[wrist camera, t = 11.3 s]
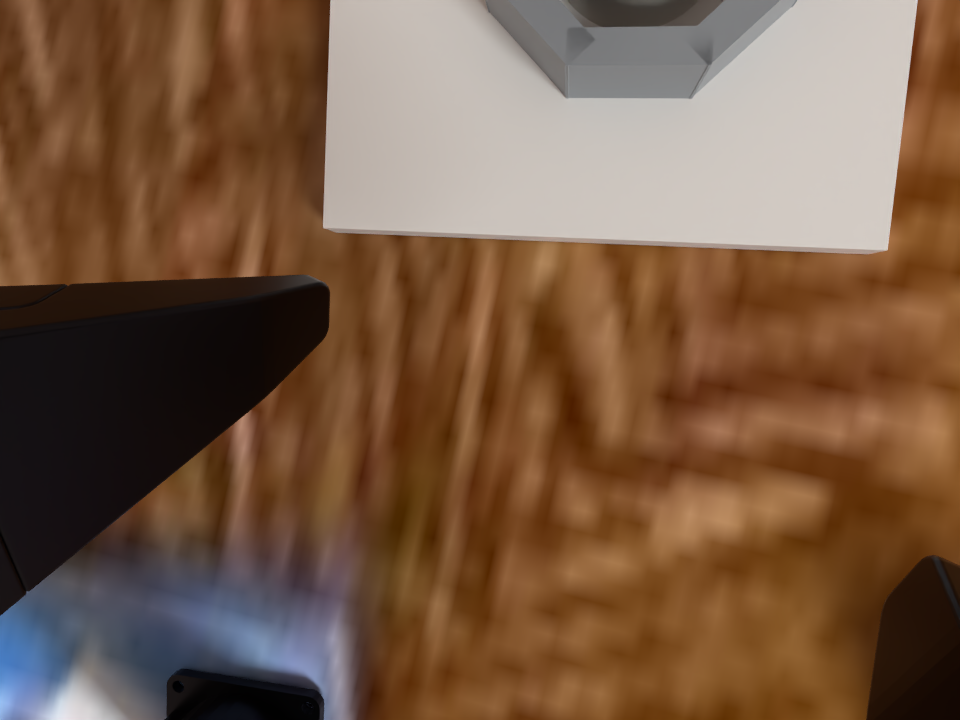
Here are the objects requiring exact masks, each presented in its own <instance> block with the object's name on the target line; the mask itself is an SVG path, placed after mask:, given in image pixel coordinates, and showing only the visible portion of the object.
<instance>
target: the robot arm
mask: <svg viewBox="0 0 960 720" xmlns="http://www.w3.org/2000/svg"><path fill="white" fill-rule="evenodd" d="M329 308H330V290H329V288H328V286H327V285H326V283H324V282H322V281H320V280H318V279H315V278H313V277H311V276H308V275H286V276H261V277H235V278H210V279H184V280H159V281H134V282H108V283H83V284H71V285H69V286H67V285H66V284H55V285H27V286H0V615H2V614H3V613H4V612H5V611H6V610H8V609H9V608H10V607H11V606H13V605H14V604H15V603H16V602H17V601H19V600H20V599H21V598H22V597H24V596H25V595H26V591H30V590H31V589H33V588H34V587H35V586H36V585H38V584H39V583H40V582H41V581H42V580H44V579H45V578H46V577H47V576H49V575H50V574H51V573H52V572H53V571H55V570H56V569H57V568H58V567H60V566H61V565H62V564H63V563H64V562H66V561H67V560H68V559H69V558H70V557H72V556H73V555H74V554H75V553H77V552H78V551H79V550H80V549H81V548H83V547H84V546H85V545H86V544H88V543H89V542H90V541H91V540H92V539H94V538H95V537H96V536H97V535H99V534H100V533H101V532H102V531H103V530H105V529H106V528H107V527H108V526H110V525H111V524H112V523H113V522H114V521H116V520H117V519H118V518H119V517H121V516H122V515H123V514H124V513H125V512H127V511H128V510H129V509H130V508H132V507H133V506H134V505H135V504H136V503H138V502H139V501H140V500H141V499H143V498H144V497H145V496H146V495H147V494H149V493H150V492H151V491H152V490H154V489H155V488H156V487H157V486H158V485H160V484H161V483H162V482H163V481H165V480H166V479H167V478H168V477H169V476H171V475H172V474H173V473H174V472H176V471H177V470H178V469H179V468H180V467H182V466H183V465H184V464H185V463H186V462H188V461H189V460H190V459H191V458H193V457H194V456H195V455H196V454H197V453H199V452H200V451H201V450H202V449H204V448H205V447H206V446H207V445H208V444H210V443H211V442H212V441H213V440H215V439H216V438H217V437H218V436H219V435H221V434H222V433H223V432H224V431H226V430H227V429H228V428H229V427H230V426H232V425H233V424H234V423H235V422H237V421H238V420H239V419H240V418H241V417H243V416H244V415H245V414H246V413H248V412H249V411H250V410H251V409H252V408H254V407H255V406H256V405H257V404H258V403H260V402H261V401H262V400H263V399H264V398H265V397H266V396H267V395H268V394H270V393H271V392H272V391H273V390H274V389H275V388H276V387H277V386H278V385H279V384H280V383H281V382H282V381H283V380H284V379H285V378H286V377H287V376H288V375H289V374H290V373H291V372H292V371H293V370H294V369H295V368H296V367H297V366H298V365H299V364H300V363H301V362H302V361H303V360H304V359H305V358H306V357H307V356H308V355H309V354H310V353H311V352H312V351H313V350H314V349H315V348H316V347H317V346H318V345H319V344H320V343H321V342H322V340H323V339H324V338H325V336H326V334H327V332H328V328H329ZM179 681H180V682H182V683H183V685H184V686H183V685H181V684H180V682H179ZM306 702H308V703H311V704H312V705H313V708H311V707H309V706H308V705H307V703H306ZM164 720H324V699H323V697H322V696H321V694H320V693H318V692H317V691H315V690H311V689H305V688H299V687H293V686H287V685H280V684H274V683H268V682H262V681H256V680H250V679H244V678H238V677H232V676H225V675H219V674H213V673H207V672H201V671H195V670H189V669H180V670H178V671H176V672H175V673H174V674H173V675H172V676H171V677H170V678H169V680H168V682H167V717H166V718H165V719H164ZM866 720H960V566H959V565H957V564H955V563H952V562H950V561H948V560H946V559H943V558H941V557H939V556H936V555H932V556H927V557H925V558H923V559H922V560H921V561H920V562H919V563H918V564H917V565H916V566H915V567H914V568H913V569H912V570H911V571H910V572H909V574H908V575H907V576H906V577H905V578H904V579H903V580H902V581H901V582H900V583H899V584H898V586H897V587H896V588H895V589H894V590H893V591H892V592H891V593H890V594H889V596H888V597H887V599H886V601H885V603H884V605H883V609H882V613H881V619H880V626H879V633H878V639H877V646H876V653H875V660H874V667H873V674H872V681H871V688H870V695H869V701H868V709H867V718H866Z"/></svg>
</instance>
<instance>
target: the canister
mask: <svg viewBox="0 0 960 720" xmlns="http://www.w3.org/2000/svg"><path fill="white" fill-rule="evenodd" d="M568 1H569V3H570V4H571V5H572V6H573V8H574V9H575V10H577V11H578V12H579V13H580V14H581V15H582V16H584V17H585V18H586V19H588V20H589V21H591V22H593V23H595V24H597V25H599V26H602V27H651V26H661V25H664V24H666V23H668V22H670V21H672V20H674V19H676V18H678V17H679V16H681V15H682V14H684V13H685V12H686V11H688V10H689V9H690V8H691V7H692V6H693V5H695V4H696V2H697V1H698V0H568Z"/></svg>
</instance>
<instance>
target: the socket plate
mask: <svg viewBox="0 0 960 720" xmlns="http://www.w3.org/2000/svg"><path fill="white" fill-rule="evenodd" d="M917 1H918V0H698V1H697V2H696V4H695V5H693V6H692V7H691V8H690V9H689V10H688V11H686V12H685V13H684V14H682V15H681V16H679V17H678V18H676V19H674V20H672V21H670V22H668V23H666V24H664V25H661V26H651V27H602V26H599V25H597V24H595V23H593V22H591V21H589V20H588V19H586V18H585V17H584V16H582V15H581V14H580V13H579V12H578V11H577V10H575V9H574V8H573V6H572V5H571V4H570V3H569V1H568V0H330V30H329V61H328V91H327V121H326V152H325V182H324V213H323V228H325V229H328V230H331V231H334V232H336V233H360V234H384V235H409V236H433V237H458V238H482V239H507V240H531V241H556V242H580V243H605V244H629V245H654V246H678V247H703V248H727V249H752V250H776V251H801V252H825V253H849V254H871V253H876V252H881V251H887V250H888V242H889V233H890V225H891V217H892V208H893V200H894V192H895V184H896V175H897V167H898V159H899V150H900V142H901V134H902V126H903V117H904V109H905V101H906V92H907V84H908V76H909V68H910V59H911V51H912V43H913V34H914V26H915V18H916V9H917Z"/></svg>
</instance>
